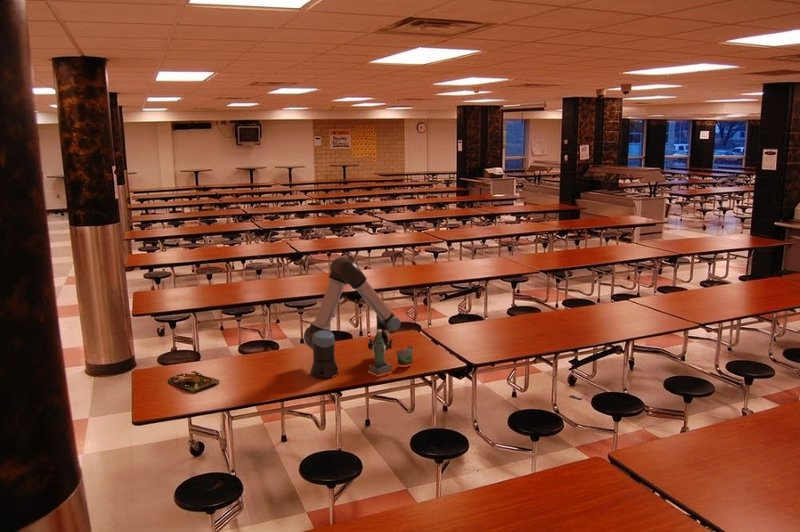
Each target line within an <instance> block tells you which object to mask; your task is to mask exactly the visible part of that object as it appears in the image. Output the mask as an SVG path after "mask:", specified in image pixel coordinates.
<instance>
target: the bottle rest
mask: <svg viewBox="0 0 800 532" xmlns="http://www.w3.org/2000/svg"><path fill="white" fill-rule="evenodd" d="M392 369H393V368H392V364H390V363H388V362H386V361H385V366H383V367H380V368H377V367H375V365H372V364H369V365H368V370H369V371H370V372H372V373H374V374H376V375H380V374H383V373H387V372H390V371H392ZM392 372H393V371H392Z"/></svg>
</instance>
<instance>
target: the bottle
mask: <svg viewBox="0 0 800 532" xmlns="http://www.w3.org/2000/svg"><path fill="white" fill-rule="evenodd" d="M376 333H377V339H375V338H374V339H375V342H373V343H374V355H373V356H374V357H373V358H374V366H375V367H377V368H380V367H383V366H385V362H386V360H385V355H386V353H385V354H384V342H383V339H382V330H380V329H378V330H377V329H376Z"/></svg>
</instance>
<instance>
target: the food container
mask: <svg viewBox="0 0 800 532" xmlns="http://www.w3.org/2000/svg"><path fill="white" fill-rule="evenodd" d="M413 347H414V346H411V345H408V347H406V348H402V349H401V350H396V355H397V356H396V357H397V366H398V365H408V364H411V363H412V364H413V354H414V352H415V350H414V348H413Z"/></svg>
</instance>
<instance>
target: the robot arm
mask: <svg viewBox="0 0 800 532" xmlns="http://www.w3.org/2000/svg"><path fill="white" fill-rule="evenodd" d="M329 271H330V273H329V275H328V280H329V282H328V285H327V288H326V290H325V293H324V295H323V299H322V301H321V303H320V307H319V309H318V311H317V314H316V317H315V319H314V320H313V321H311V322H310V324H309V327H306V329H305V330H304V333H303V340H304V342H305V344H306V346H308V347H309V348H310V349H312V355H313V356H312V357H313V362H312V365H311V369H310V376H311V377H312V376H313V377H312V378H314V377H316V378H315V379H318V378H328V377H331V376H334V375H336V374H337V373H338V374H339V367H338V365H337V362H336V357H335V355H336V353H335V352H336V351H335V349H336V348H335V341H336V340H335V335H334V333H333V332H332V331H331V329H332V328H331V327H330V324H331V322H332V319H333V316H334V315H335V311H336V308H337V307H338V303H339V301H340V298H341V296H342V293H343V291H344V289H345V286H348V285H349V286H350V287H351V288H352V289H353V290H355V291H357V293H358V294H359V295H360V296H361V297H362V299H363V300H364V301H365V302H366V303H367V305H368V306H369V307H370V308H371V309H372V310H373V311H374V313H375V314H376V331H377V330H378V329H380V330H382V339H383V342H384V354H385V355H386V352H387V351H388V350H392V345H393V341H394V339H393V338H392V339H389V335H390V333H391V332H390V331H391V330H392V331H396V330H398V329H399V328H400V327H401V319H400V318H398V317H397V316H396V314H394V313H393V312H392V310H391V309H390V307H389V306H388V305H387V304H386V303H385V302H384V300H383V299H382V298H381V297H380V296H379V294H378V293H377V292H376V290H375V289H374V288H373V287H372V286H371V284H370V283H369V282H368V281H367V276H366V275H365V273H363V271H362V270H361V268H360V267H359V265H358V264H357V263H355V262H354V261H352V260H350V259H348V258H347V257H342V256H340V257H336V258H334V259H333V260H332V261H331V263H330V265H329ZM375 339H377V332H376V333H375V337H374V339H371V338H369V339H368V344H367V349H368V350H370V351H371V353H372V354H374V342H375ZM328 379H329V378H328Z"/></svg>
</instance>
